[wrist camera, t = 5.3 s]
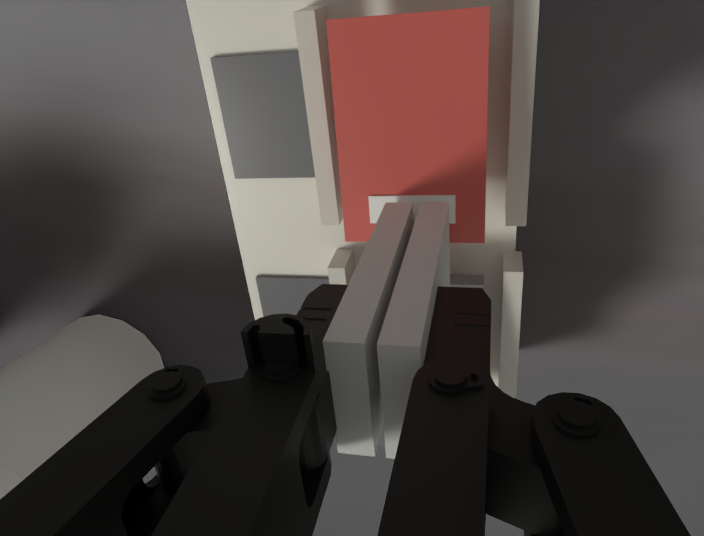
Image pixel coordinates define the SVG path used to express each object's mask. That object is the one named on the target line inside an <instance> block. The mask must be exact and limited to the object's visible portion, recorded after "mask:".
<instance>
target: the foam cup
mask: <svg viewBox="0 0 704 536" xmlns="http://www.w3.org/2000/svg"><path fill="white" fill-rule="evenodd" d="M163 368H164V365H163V362H162V359H161V356H160V353H159V352H158V350H157V349H156V348H155V347H154V346H153V344H152V343H151V342H150V341H149V340H148V338H147V337H146V336H145V335H144V334H143V333H141V332H140V331H138V330H137V329H135V328H134V327H132V326H130V325H129V324H127V323H126V322H124V321H123V320H119V319H115V318H111V317H108V316H104V315H100V314H98V315H92V316H86V317H81V318H79V319H78V320H76V321H75V322H74V323H70V324H69V325H67V326H66V327H64V328H63V329H61V330H60V331H58V332H57V333H55V334H54V335H52V336H51V337H49V338H48V339H46V340H45V341H43V342H42V343H41V344H39V345H38V346H36V347H35V348H33V349H32V350H30V351H29V352H27V353H26V354H24V355H23V356H21V357H20V358H18V359H17V360H15V361H14V362H12V363H11V364H9V365H8V366H6V367H5V368H3V369H2V370H0V499H1V498H2V497H4V496H5V495H6V494H7V493H8V492H10V491H11V490H12V489H13V488H14V487H15V486H17V485H18V484H19V483H20V482H21V481H23V480H24V479H25V478H26V477H27V476H28V475H30V474H31V473H32V472H33V471H34V470H36V469H37V468H38V467H39V466H40V465H42V464H43V463H44V462H45V461H46V460H47V459H49V458H50V457H51V456H52V455H53V454H55V453H56V452H57V451H58V450H59V449H60V448H62V447H63V446H64V445H65V444H66V443H68V442H69V441H70V440H71V439H72V438H73V437H75V436H76V435H77V434H78V433H79V432H81V431H82V430H83V429H84V428H85V427H86V426H88V425H89V424H90V423H91V422H92V421H94V420H95V419H96V418H97V417H98V416H100V415H101V414H102V413H103V412H104V411H105V410H107V409H108V408H109V407H110V406H111V405H113V404H114V403H115V402H116V401H117V400H118V399H120V398H121V397H122V396H123V395H124V394H126V393H127V392H128V391H129V390H130V389H131V388H133V387H134V386H135V385H136V384H137V383H139V382H140V381H141V380H142V379H144V378H145V377H147V376H148V375H150V374H151V373H153V372H155V371H158V370H161V369H163Z"/></svg>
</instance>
